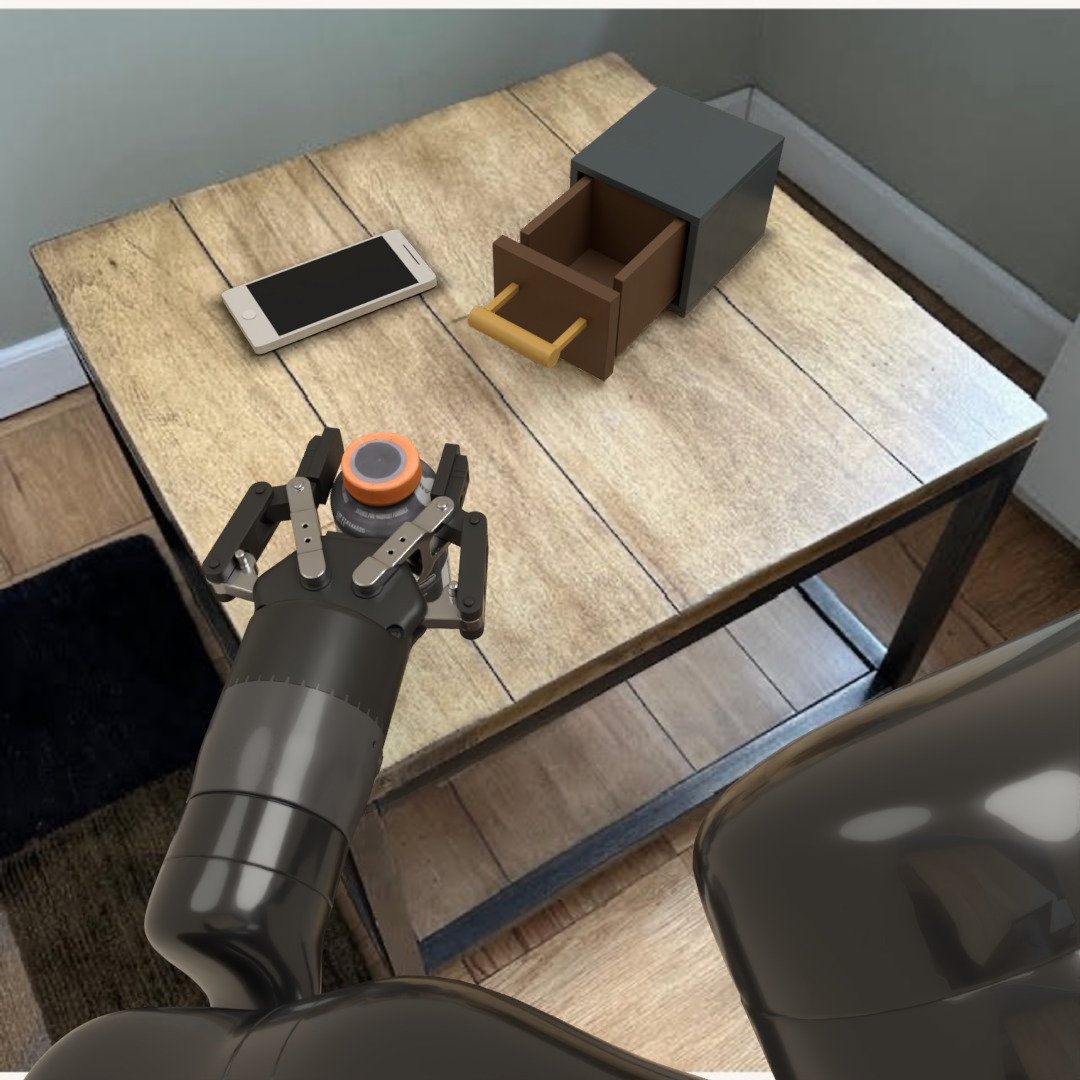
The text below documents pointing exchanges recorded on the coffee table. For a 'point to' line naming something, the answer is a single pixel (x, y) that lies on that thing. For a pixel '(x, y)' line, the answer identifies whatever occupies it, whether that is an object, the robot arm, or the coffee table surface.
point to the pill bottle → (385, 495)
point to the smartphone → (328, 290)
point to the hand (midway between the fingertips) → (393, 446)
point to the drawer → (584, 278)
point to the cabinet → (691, 178)
